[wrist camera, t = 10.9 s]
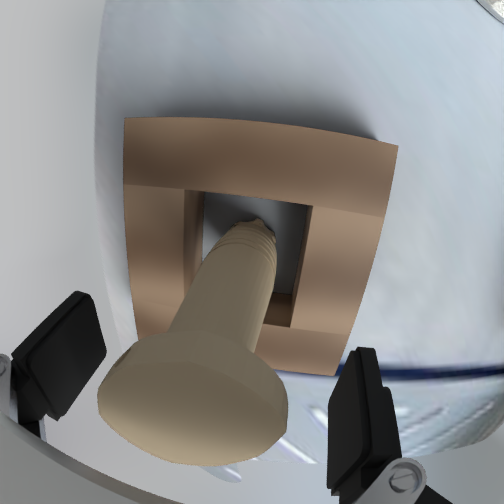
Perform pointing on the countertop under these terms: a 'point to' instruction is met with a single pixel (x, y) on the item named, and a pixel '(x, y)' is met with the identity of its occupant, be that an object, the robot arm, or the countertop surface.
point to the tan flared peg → (206, 365)
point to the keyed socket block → (260, 186)
